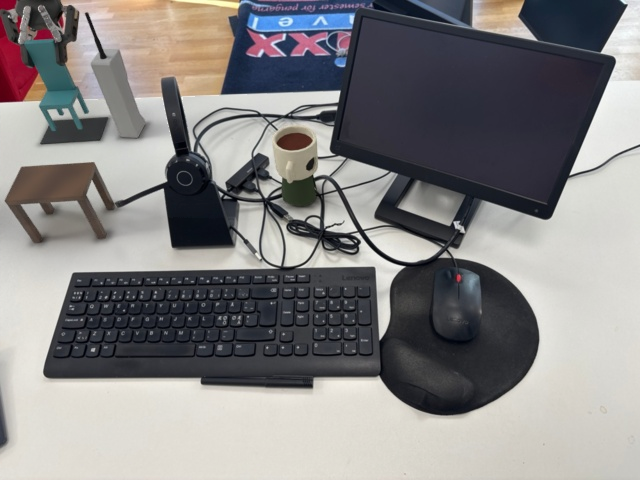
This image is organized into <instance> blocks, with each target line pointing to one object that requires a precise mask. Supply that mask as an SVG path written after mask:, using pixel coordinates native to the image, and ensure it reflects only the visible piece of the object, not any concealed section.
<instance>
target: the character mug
mask: <svg viewBox="0 0 640 480" xmlns="http://www.w3.org/2000/svg"><path fill="white" fill-rule="evenodd" d="M317 139H318V138H317V134H316V132H315V131H314V130H313V129H312V128H310V127H308V126H305V125H301V124H289V125H286V126H283V127H280V128H279V129H277V130H276V131H275V133H274V134H273V135H272V139H271V141H272V151H273V152H272V153H273V159H274V166H275V171H276V172H277V174H278V175H279V177H281V197H282V200H283V201H284V202H285V203H286V204H287V205H291V206H295V207H306V206H309V205H312V204H313V202H315V201H316V200H317V192H318V187H317V183H316V179H315V177H314V174H316V172H317V171H318V168H319V157H318V155H319V153H318V140H317Z"/></svg>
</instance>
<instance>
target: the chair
mask: <svg viewBox="0 0 640 480" xmlns="http://www.w3.org/2000/svg"><path fill="white" fill-rule="evenodd" d="M54 43H56V41H55V39H54V38H47V39H46V38H45V39H33V40H29V41H26V42H25V43H24V45H25V47H26V49H27V51H28V53H29V55H30V57H31V59H32V61H33V62H34V64H35V67H34V68H35V69H36V71H37V73H38V74H39V76H40V78H41V80H42V82H43V84H44V86H45V88H46V91H45V93H44V95H43V97H42V99H41V100H40V102H39V104H38V108H39V110H40V111H41V113H42V115H43V117H44V119H45V121H46V122H47V124H48V126H50V128H51V130H52V131H56V130H57V128H56V126H55V124H54V122H53V118H52V115H51V114H50V113H49V111H51V110H56V112H57V114H58V116H64V114H65V111H64V110H66V109H67V110H68V112H69V113H70V116H71V119H73V120H74V122H75V124H76V126H77V128H78V129H82V128H83V126H82V124H81V122H80V120H79V119H80V117H79V115H78V114H77V111H76V110H75V107H74V104H75V102H76V101H77V100H78V103H79V105H80V107H81V109H82V112H83V114H84V115H88V114H90V109H89V108H88V106H87V104H86V102H85V99H84V96H83V95H82V93H81V90H80V88H79V86H78V85H76V83H75V82H74V81H75V80H73V77H72V75H71V73H70V70H69V69H68V66H67V63H65V66H60V65H58V64H57V63H56V57H55V45H54ZM63 109H64V110H63Z"/></svg>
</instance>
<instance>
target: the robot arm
mask: <svg viewBox="0 0 640 480" xmlns="http://www.w3.org/2000/svg"><path fill="white" fill-rule="evenodd" d="M80 13H81V12H80V11H79V9H78V8H76V7H75V6H74V5H72V4H68V5H63V3H62V1H61V0H16V2H15V4H14V8H12V9H8V10H6V9H4V8H1V9H0V18H1V21H2V24H3V27H4V30H5V33H6V36H7V39H8V41H9V42H11V43H13V44H15V45H17V46H19V48H20V49H19V50H20V58H21V59H20V60H21V62H22V64H24V66H25V67H27V68H29V69H35V68H36V67H35V64H34V62H33V61H32V59H31V57H30V55H29V53H28V51H27V49H26V47H25V45H24V43H25V42H26V41H29V40H35V38H36V37H37V34H38V31H42V30H48V31H50V33H51V35H52V37H53V39H54V40H55V42H56V43H54V45H55V57H56V63H57V64H58V65H60V66H65V64H67V63H68V60H69V59H68V49H67V45H68V44H69V43H76V42H77V38H78V30H79V21H80ZM62 16H64V17H65V22H64V30H63V28H62V26H61V24H60V22H59V21H60V20H61V17H62ZM18 17H19V18H20V19H21V20H20V21H21V22H20V24H19V28H18V25H17V23H18V22H19V21H18Z"/></svg>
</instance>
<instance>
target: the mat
mask: <svg viewBox="0 0 640 480" xmlns="http://www.w3.org/2000/svg"><path fill="white" fill-rule="evenodd" d="M108 119H109V116H103V117H101V116H100V117H86V118H85V117H83V118H79V120H80V122H81V124H82V126H83V128H82V129H78V128H77V126H76V124H75V122H74V120H73V118H71V119H70V118H69V119H55V120H53V119H52V120H53V122H54V124H55V126H56V128H57V130H56V131H52V130H51V128H50V126H49V125H48V127H47V128H46V130H45V132H44V134H43V136H42V138H41V140H40V145H52V144H66V143H67V144H68V143H81V142H82V143H83V142H97V141H101V138H102V136H103V133H104V131H105V128H106V126H107V123H108Z"/></svg>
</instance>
